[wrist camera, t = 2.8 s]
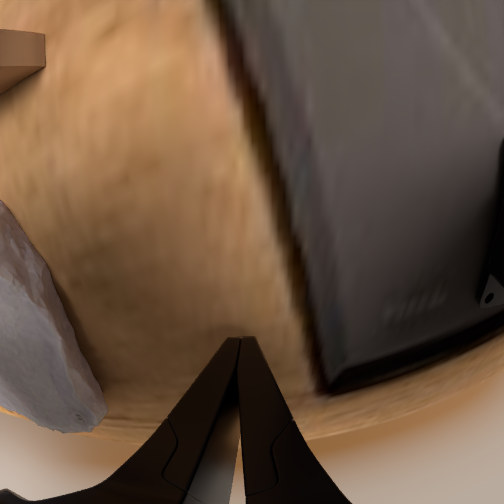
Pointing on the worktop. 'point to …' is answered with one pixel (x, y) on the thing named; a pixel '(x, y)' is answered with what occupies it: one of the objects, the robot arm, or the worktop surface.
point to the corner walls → (19, 56)
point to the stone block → (40, 343)
